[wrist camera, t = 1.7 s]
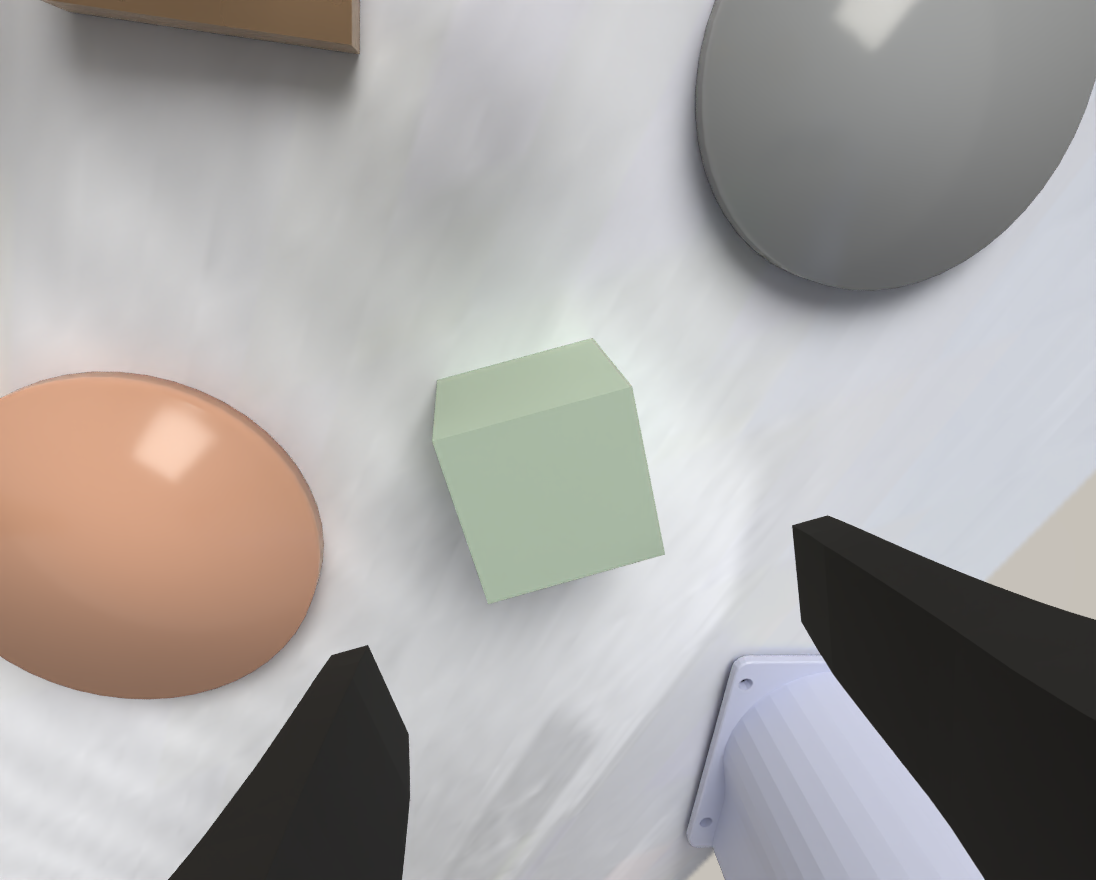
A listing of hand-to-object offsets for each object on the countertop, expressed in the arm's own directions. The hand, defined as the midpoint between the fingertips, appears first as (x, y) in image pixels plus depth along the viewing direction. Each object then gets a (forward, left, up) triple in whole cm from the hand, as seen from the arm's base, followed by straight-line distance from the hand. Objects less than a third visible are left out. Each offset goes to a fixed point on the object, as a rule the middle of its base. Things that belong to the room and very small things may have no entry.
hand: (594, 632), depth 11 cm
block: (0, 0, -9) cm, 9 cm away
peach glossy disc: (-4, +11, -9) cm, 15 cm away
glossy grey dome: (+10, -8, -9) cm, 16 cm away
